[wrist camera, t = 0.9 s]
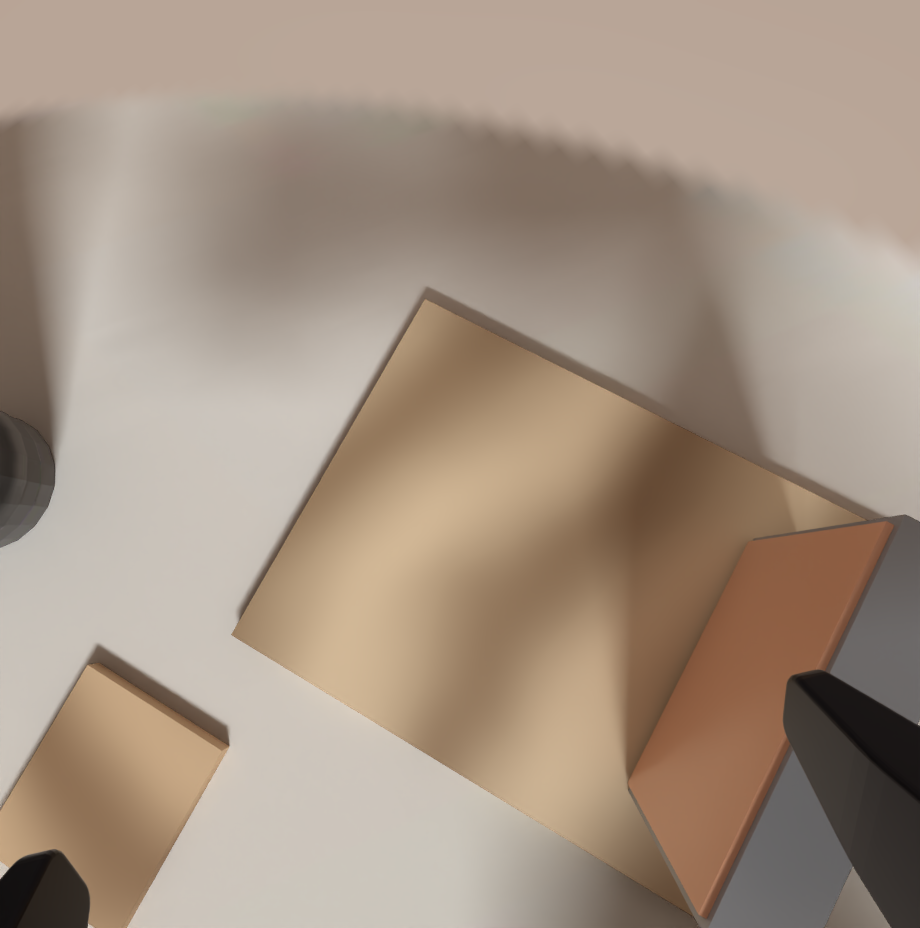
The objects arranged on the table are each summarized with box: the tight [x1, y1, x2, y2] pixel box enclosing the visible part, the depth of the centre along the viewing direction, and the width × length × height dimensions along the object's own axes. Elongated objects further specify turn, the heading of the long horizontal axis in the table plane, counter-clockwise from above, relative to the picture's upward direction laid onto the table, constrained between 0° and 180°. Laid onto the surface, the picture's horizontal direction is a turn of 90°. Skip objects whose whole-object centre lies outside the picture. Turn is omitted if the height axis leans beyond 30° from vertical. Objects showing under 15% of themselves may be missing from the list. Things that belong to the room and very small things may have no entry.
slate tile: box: [628, 515, 920, 928], centre depth 16 cm, size 2×8×8 cm, turn 151°
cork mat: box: [231, 299, 867, 917], centre depth 21 cm, size 16×12×1 cm
